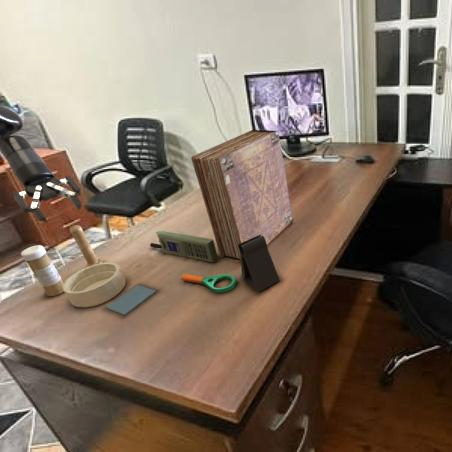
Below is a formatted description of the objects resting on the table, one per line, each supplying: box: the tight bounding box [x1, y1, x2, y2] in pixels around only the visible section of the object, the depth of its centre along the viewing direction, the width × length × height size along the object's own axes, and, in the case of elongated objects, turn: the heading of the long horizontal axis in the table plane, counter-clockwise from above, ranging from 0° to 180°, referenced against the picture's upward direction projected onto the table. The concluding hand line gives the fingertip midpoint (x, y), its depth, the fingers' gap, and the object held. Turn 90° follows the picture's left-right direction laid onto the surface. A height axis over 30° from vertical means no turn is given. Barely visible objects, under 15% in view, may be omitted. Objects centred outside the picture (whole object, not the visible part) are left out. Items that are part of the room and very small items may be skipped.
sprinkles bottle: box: [20, 244, 65, 297], centre depth 90 cm, size 5×5×13 cm
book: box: [190, 129, 294, 260], centre depth 101 cm, size 25×9×30 cm, turn 154°
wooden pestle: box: [69, 224, 103, 268], centre depth 99 cm, size 4×4×14 cm
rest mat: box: [105, 284, 157, 316], centre depth 87 cm, size 9×7×1 cm
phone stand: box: [238, 234, 280, 293], centre depth 87 cm, size 9×6×12 cm, turn 40°
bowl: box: [63, 261, 127, 308], centre depth 90 cm, size 13×13×5 cm
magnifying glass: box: [181, 273, 237, 294], centre depth 90 cm, size 15×6×2 cm, turn 72°
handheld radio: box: [149, 230, 219, 263], centre depth 102 cm, size 7×3×25 cm
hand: (62, 214), depth 98 cm, fingers open, 8 cm apart
